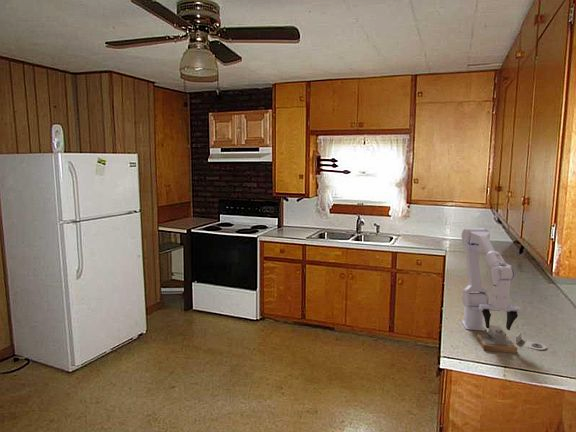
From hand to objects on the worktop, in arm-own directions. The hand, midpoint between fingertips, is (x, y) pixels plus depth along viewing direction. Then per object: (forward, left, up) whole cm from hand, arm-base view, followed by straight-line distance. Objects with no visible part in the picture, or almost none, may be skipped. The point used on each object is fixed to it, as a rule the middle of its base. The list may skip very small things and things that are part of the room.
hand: (497, 328), depth 162 cm
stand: (0, 0, -7) cm, 7 cm away
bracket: (-4, +14, -8) cm, 17 cm away
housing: (0, 0, -5) cm, 5 cm away
